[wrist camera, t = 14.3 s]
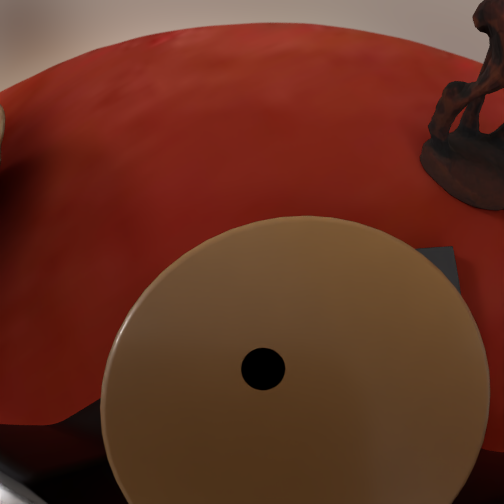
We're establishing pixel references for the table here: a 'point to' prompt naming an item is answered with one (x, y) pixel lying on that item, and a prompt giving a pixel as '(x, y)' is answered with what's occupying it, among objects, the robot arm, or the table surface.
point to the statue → (471, 126)
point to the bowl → (1, 127)
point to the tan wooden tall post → (296, 373)
